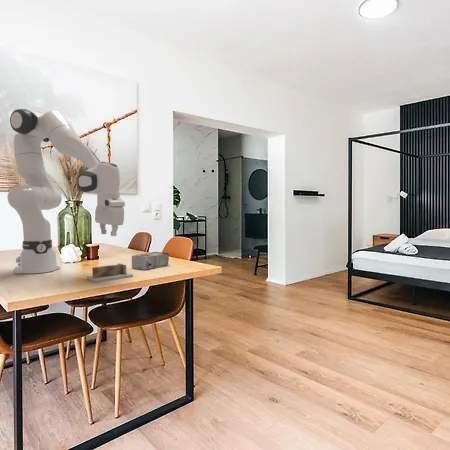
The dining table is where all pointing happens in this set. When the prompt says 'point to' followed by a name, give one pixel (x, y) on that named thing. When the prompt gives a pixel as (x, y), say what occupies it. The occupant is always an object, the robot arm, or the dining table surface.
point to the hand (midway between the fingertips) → (108, 235)
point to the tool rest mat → (109, 277)
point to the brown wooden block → (109, 270)
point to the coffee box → (150, 260)
